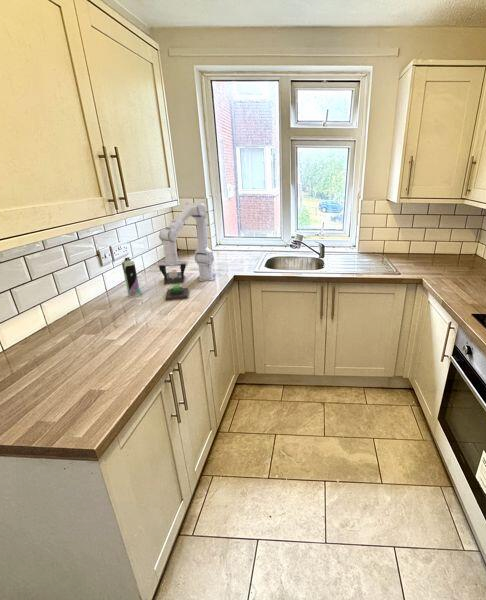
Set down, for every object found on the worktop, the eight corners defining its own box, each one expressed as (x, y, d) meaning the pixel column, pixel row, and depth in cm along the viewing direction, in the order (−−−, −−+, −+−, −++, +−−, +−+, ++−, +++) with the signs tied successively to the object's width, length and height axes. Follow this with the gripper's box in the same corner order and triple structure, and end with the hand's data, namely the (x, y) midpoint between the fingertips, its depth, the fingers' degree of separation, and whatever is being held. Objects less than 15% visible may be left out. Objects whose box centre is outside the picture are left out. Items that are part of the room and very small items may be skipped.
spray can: (135, 297, 159) (127, 259, 151) (126, 296, 160) (118, 258, 152) (142, 293, 164) (135, 256, 156) (133, 292, 165) (126, 255, 157)
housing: (168, 292, 167) (167, 286, 165) (188, 290, 169) (187, 284, 168) (166, 300, 156) (164, 294, 155) (187, 298, 159) (186, 292, 157)
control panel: (166, 277, 189) (165, 272, 187) (184, 276, 191) (183, 271, 190) (164, 285, 177) (163, 279, 176) (183, 283, 180) (182, 278, 178)
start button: (173, 289, 163) (172, 285, 162) (180, 288, 164) (180, 285, 163) (172, 291, 159) (172, 288, 159) (180, 290, 160) (179, 287, 160)
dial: (169, 278, 178) (168, 271, 177) (169, 275, 182) (168, 269, 181) (177, 277, 180) (176, 271, 178) (177, 275, 183) (176, 269, 182)
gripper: (154, 256, 151) (158, 283, 156) (186, 254, 155) (189, 280, 160) (155, 253, 157) (160, 278, 162) (186, 251, 161) (189, 276, 166)
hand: (174, 279), depth 161 cm, fingers open, 7 cm apart
